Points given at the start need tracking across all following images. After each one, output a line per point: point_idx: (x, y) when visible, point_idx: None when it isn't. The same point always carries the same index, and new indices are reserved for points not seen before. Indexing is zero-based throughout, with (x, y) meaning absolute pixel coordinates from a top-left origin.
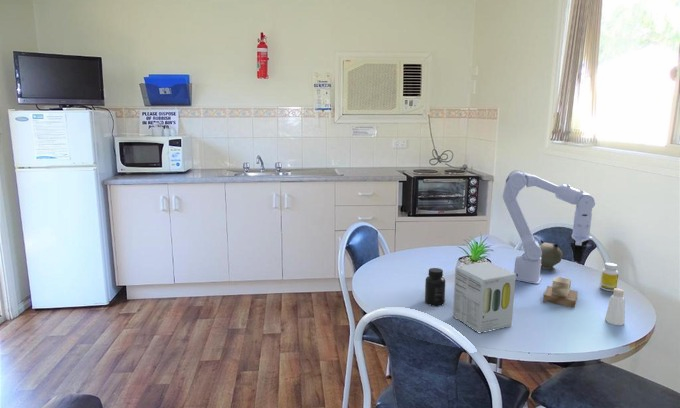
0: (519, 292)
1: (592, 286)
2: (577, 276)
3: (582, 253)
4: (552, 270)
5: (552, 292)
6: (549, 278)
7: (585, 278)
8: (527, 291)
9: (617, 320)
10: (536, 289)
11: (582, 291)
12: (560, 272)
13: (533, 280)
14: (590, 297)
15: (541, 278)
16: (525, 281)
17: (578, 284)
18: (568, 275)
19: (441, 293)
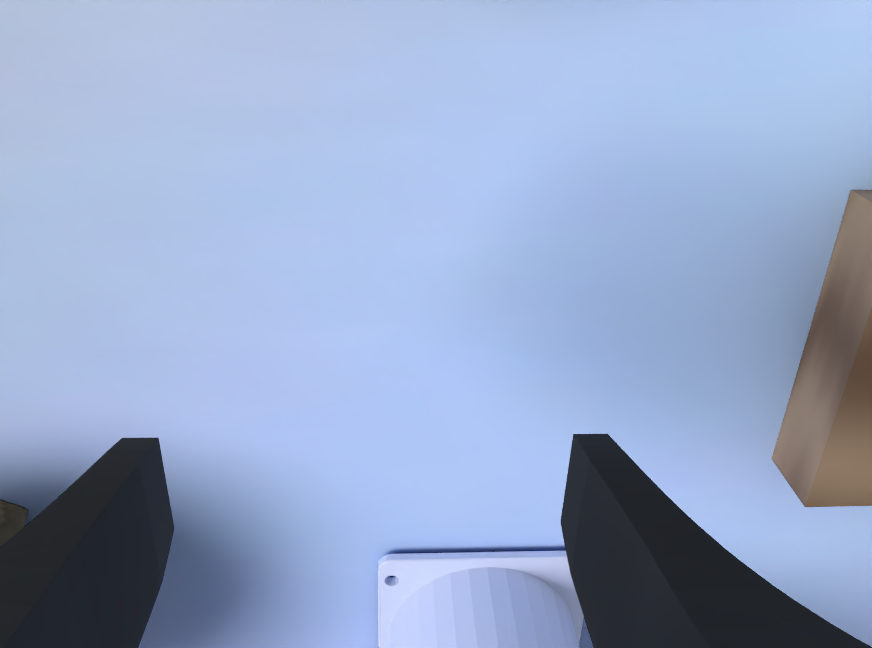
0: (862, 622)
1: (315, 36)
2: (6, 248)
3: (755, 579)
4: (12, 508)
5: None
6: (325, 495)
7: (10, 147)
8: (816, 583)
9: None
10: (733, 538)
11: (596, 149)
12: (8, 432)
13: (563, 605)
14: (786, 42)
15: (411, 556)
16: (578, 639)
17: (344, 212)
18: (55, 346)
19: None
